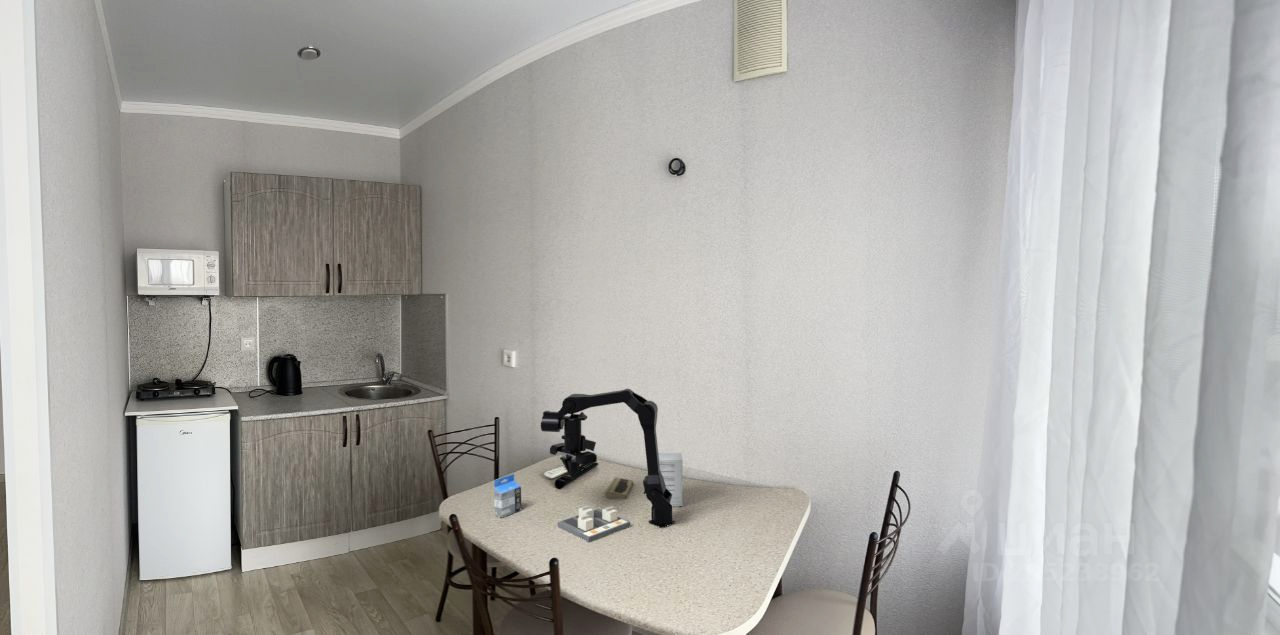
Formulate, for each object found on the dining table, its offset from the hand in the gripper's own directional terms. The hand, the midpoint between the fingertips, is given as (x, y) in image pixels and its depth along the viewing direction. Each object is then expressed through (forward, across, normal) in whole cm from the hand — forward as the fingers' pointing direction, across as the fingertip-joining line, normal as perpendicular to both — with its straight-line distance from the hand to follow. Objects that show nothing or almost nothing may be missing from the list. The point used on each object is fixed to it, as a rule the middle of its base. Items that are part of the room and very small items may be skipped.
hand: (572, 478), depth 196 cm
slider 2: (+11, -13, -5) cm, 18 cm away
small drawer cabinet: (+13, -13, -33) cm, 38 cm away
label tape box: (+13, +18, +14) cm, 26 cm away
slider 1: (+11, -13, +5) cm, 18 cm away
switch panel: (+13, -11, 0) cm, 17 cm away
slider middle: (+11, -7, 0) cm, 13 cm away
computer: (+14, +8, -28) cm, 32 cm away
